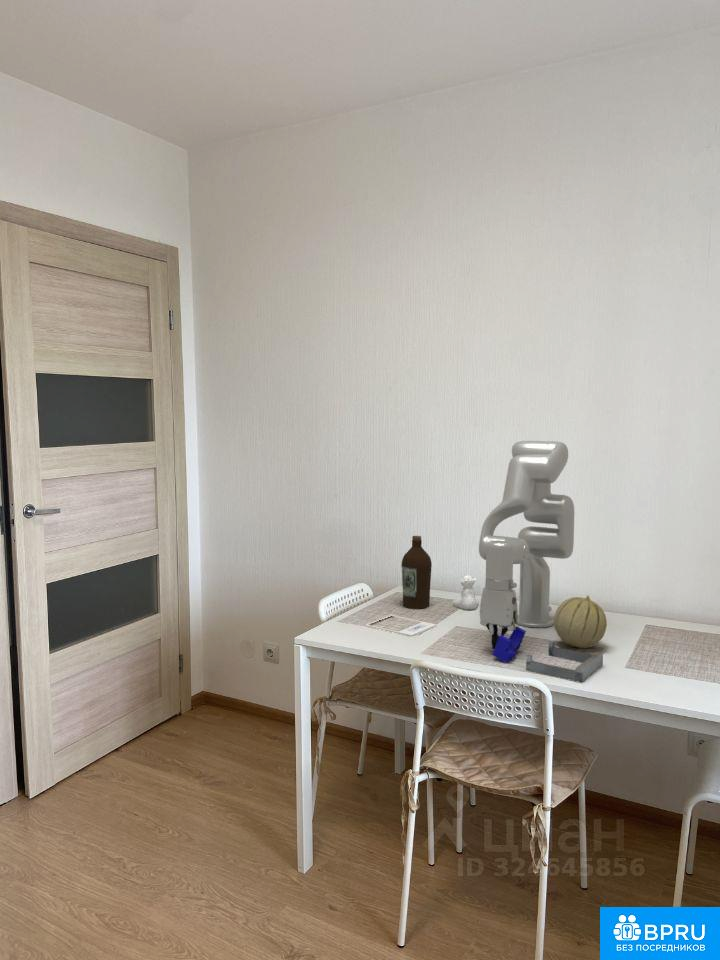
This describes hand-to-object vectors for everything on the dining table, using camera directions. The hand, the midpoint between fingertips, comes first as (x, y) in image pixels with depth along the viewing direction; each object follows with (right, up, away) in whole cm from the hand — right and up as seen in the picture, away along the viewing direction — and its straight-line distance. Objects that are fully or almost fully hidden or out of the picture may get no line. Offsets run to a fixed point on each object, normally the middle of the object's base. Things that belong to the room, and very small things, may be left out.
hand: (497, 648), depth 207 cm
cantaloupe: (+25, -1, +7) cm, 26 cm away
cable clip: (+3, -1, -2) cm, 3 cm away
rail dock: (+16, -3, -11) cm, 19 cm away
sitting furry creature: (-1, +2, +50) cm, 50 cm away
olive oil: (-19, +3, +52) cm, 56 cm away
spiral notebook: (-26, 0, +27) cm, 38 cm away
